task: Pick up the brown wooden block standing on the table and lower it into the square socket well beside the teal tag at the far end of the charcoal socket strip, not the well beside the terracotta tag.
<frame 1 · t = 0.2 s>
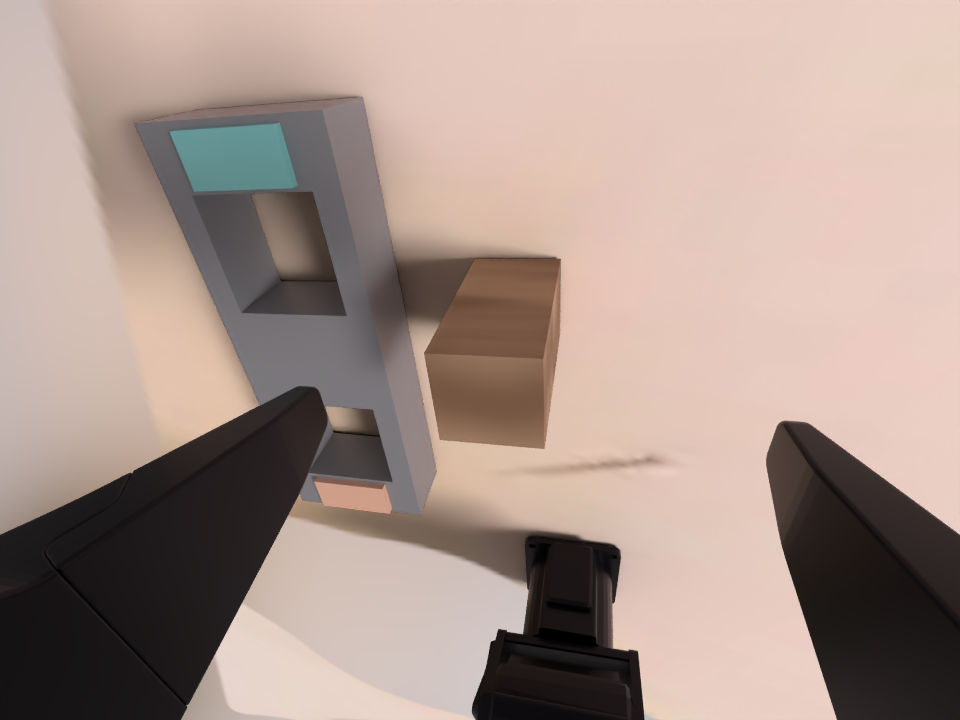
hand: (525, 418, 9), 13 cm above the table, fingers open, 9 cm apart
brown wooden block: (518, 297, 23), on the table
socket strip: (340, 327, 26), on the table
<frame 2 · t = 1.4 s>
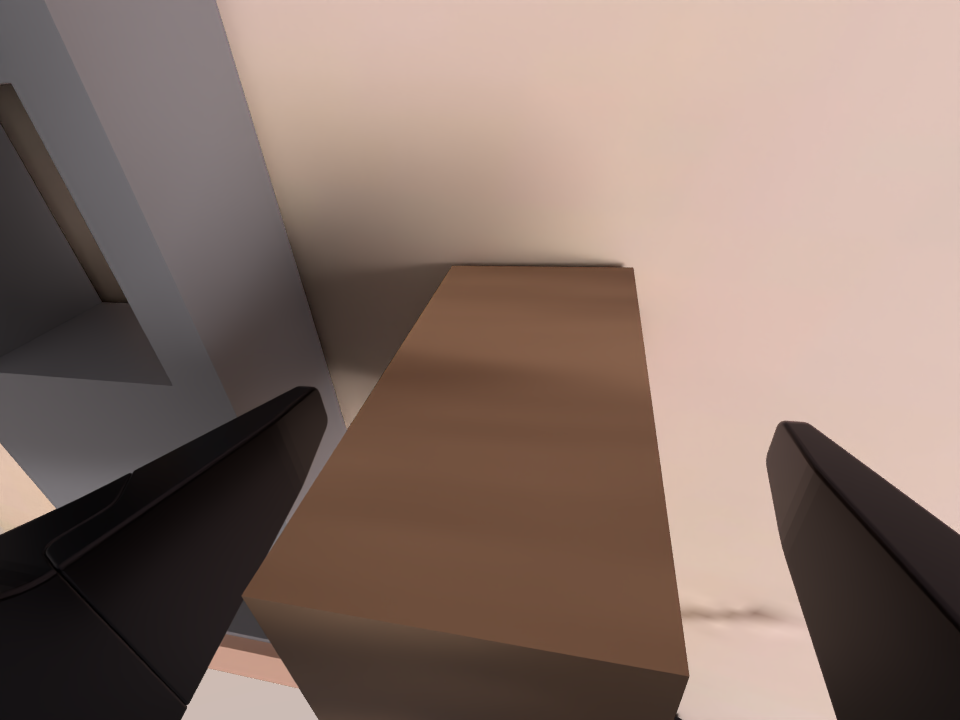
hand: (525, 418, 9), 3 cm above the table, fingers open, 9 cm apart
brown wooden block: (539, 343, 12), on the table
socket strip: (218, 383, 15), on the table
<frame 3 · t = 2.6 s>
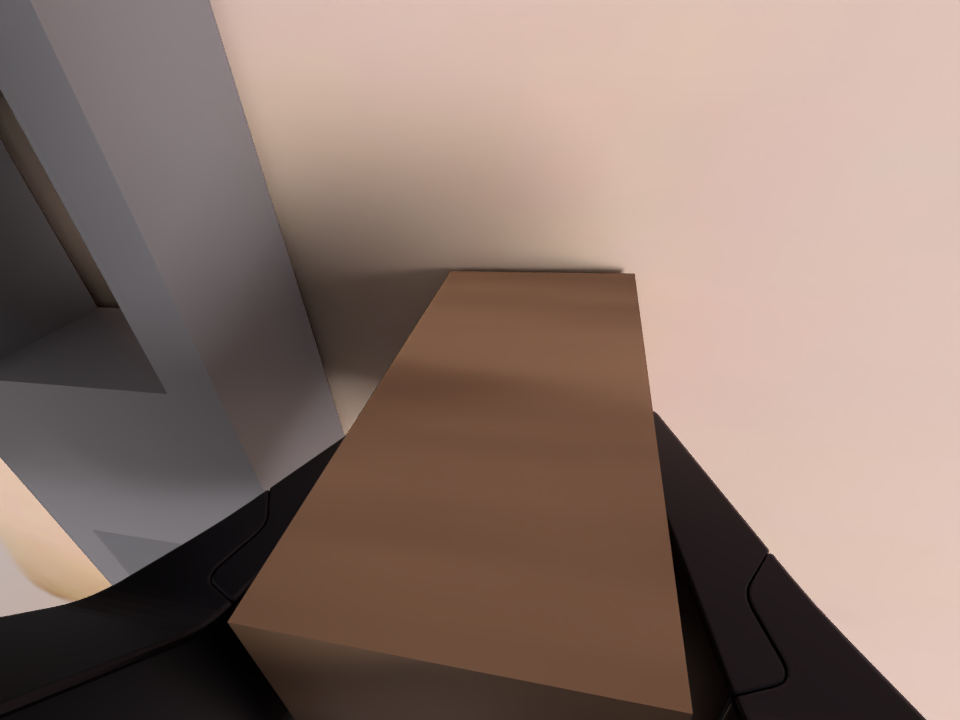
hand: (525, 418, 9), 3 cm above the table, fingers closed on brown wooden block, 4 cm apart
brown wooden block: (539, 349, 12), on the table, touching gripper
socket strip: (215, 389, 15), on the table
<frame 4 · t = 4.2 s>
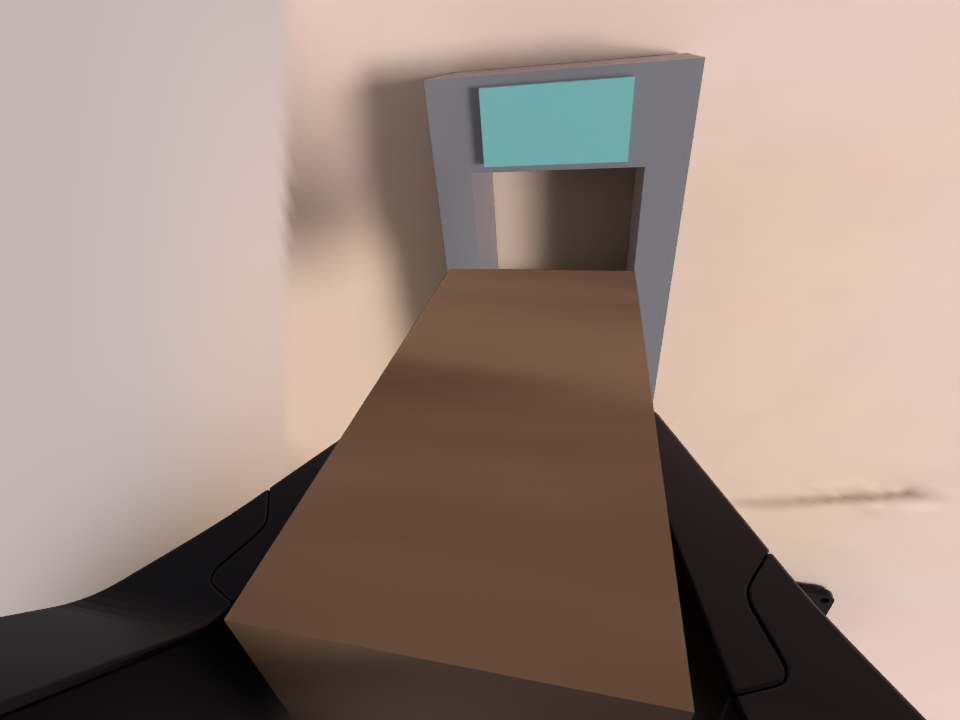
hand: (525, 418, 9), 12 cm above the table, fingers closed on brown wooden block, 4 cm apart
brown wooden block: (539, 347, 11), point 10 cm above the table, touching gripper
socket strip: (559, 336, 23), on the table
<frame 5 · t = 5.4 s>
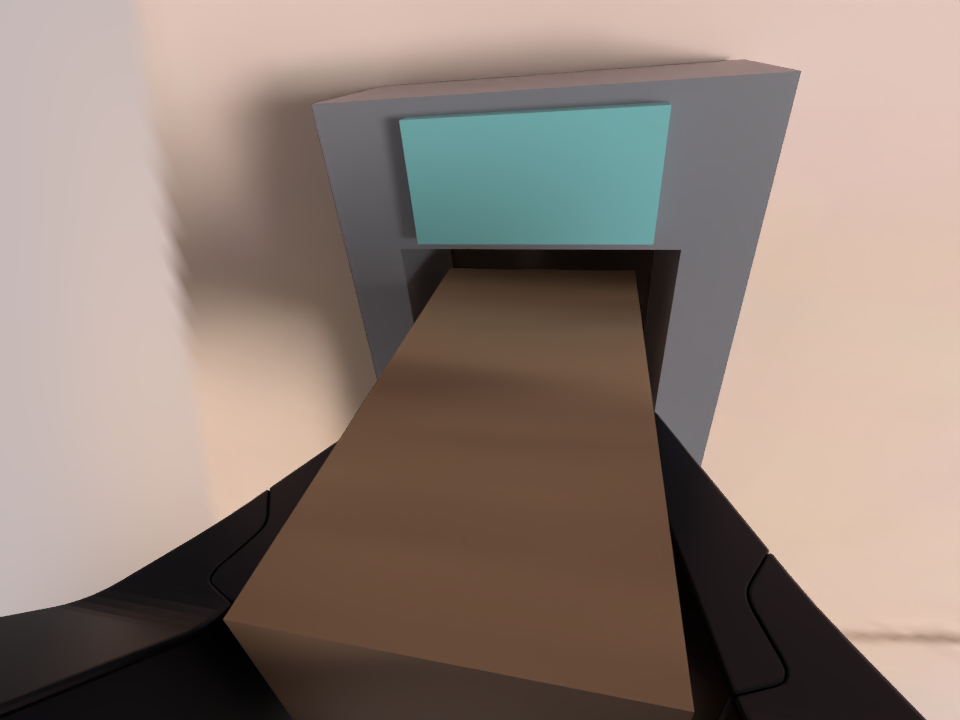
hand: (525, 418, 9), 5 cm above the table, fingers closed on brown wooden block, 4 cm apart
brown wooden block: (539, 347, 11), point 3 cm above the table, touching gripper
socket strip: (547, 437, 17), on the table
when the fingers open (5 cm above the table, at t = 6.2 s): brown wooden block drops 2 cm, resting in socket strip.
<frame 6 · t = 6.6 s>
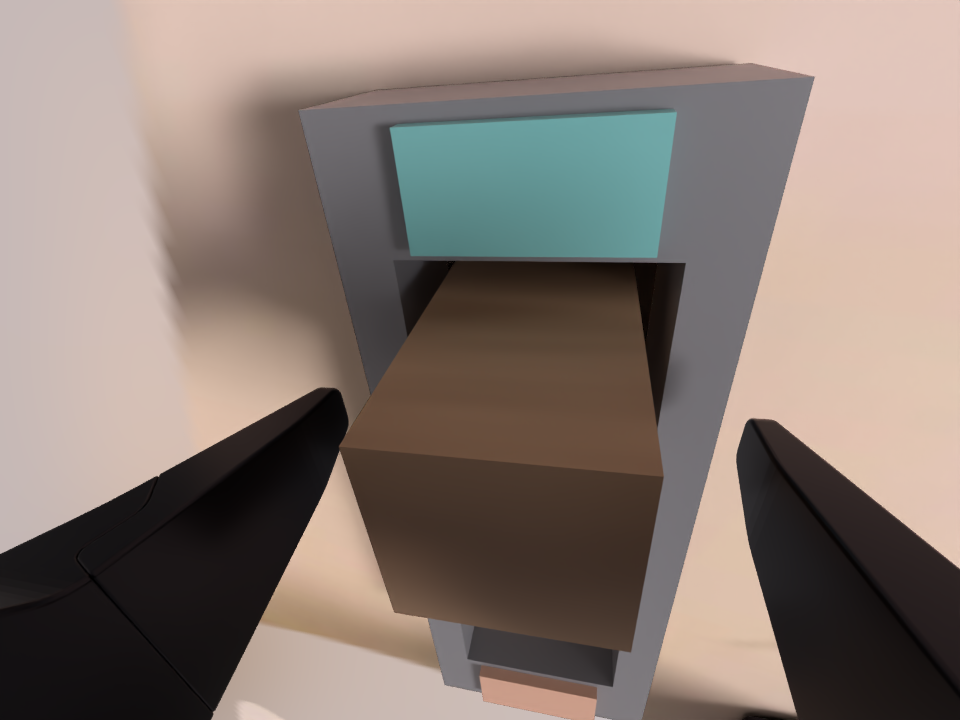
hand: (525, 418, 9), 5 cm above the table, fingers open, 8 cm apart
brown wooden block: (548, 304, 13), resting in socket strip
socket strip: (546, 449, 16), on the table
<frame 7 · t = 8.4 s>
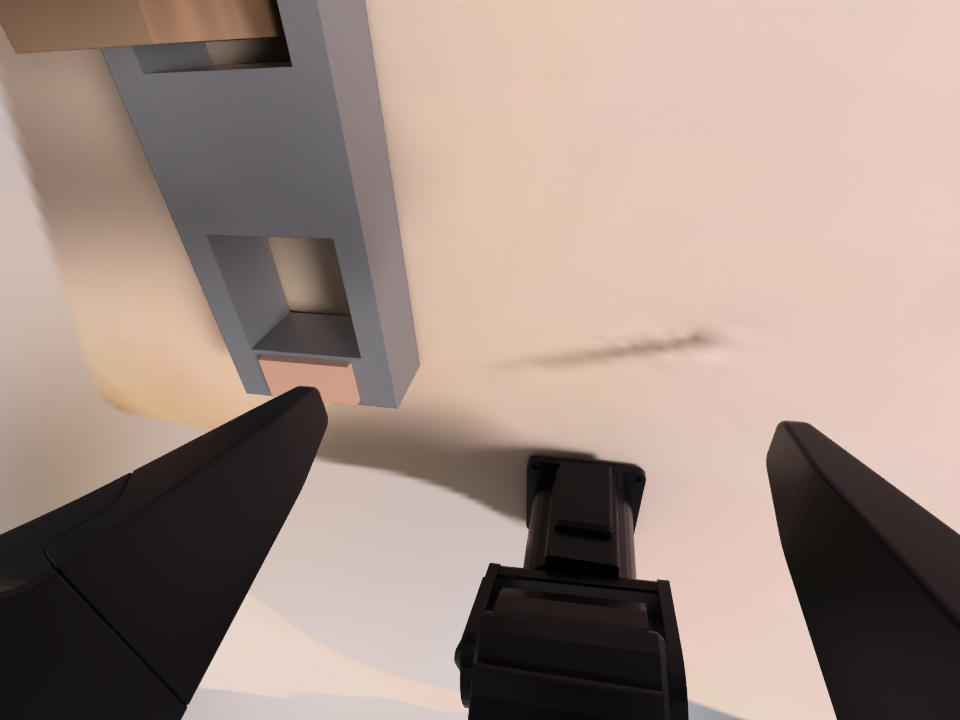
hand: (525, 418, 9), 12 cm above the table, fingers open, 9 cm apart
socket strip: (294, 140, 20), on the table
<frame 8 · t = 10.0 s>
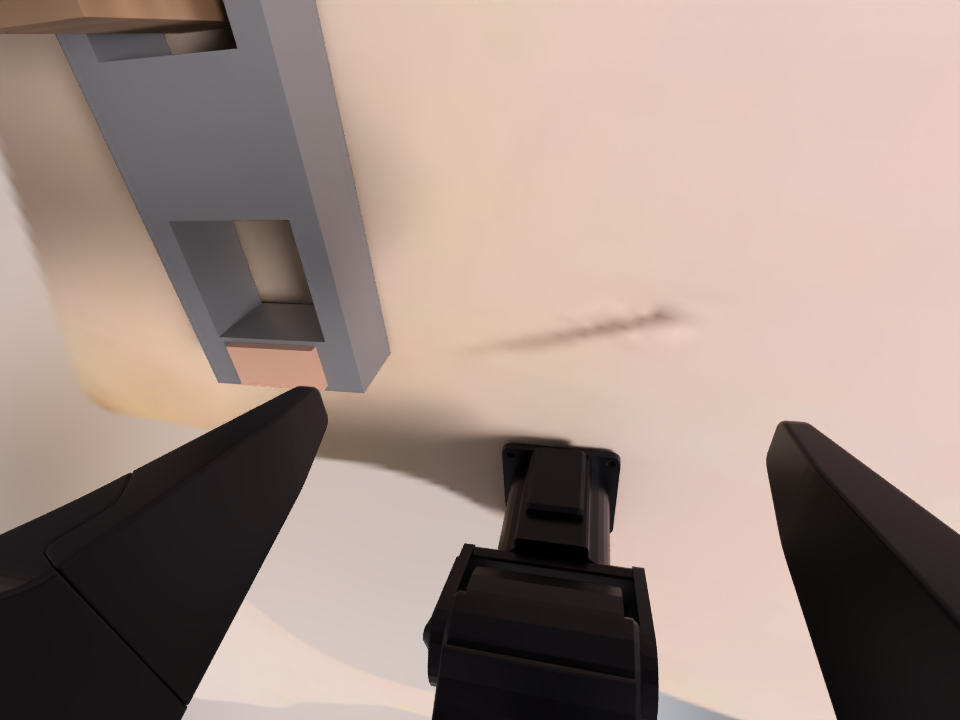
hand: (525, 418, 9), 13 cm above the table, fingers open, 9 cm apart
socket strip: (255, 129, 20), on the table
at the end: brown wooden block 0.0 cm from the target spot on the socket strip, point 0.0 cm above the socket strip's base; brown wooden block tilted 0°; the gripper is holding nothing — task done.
